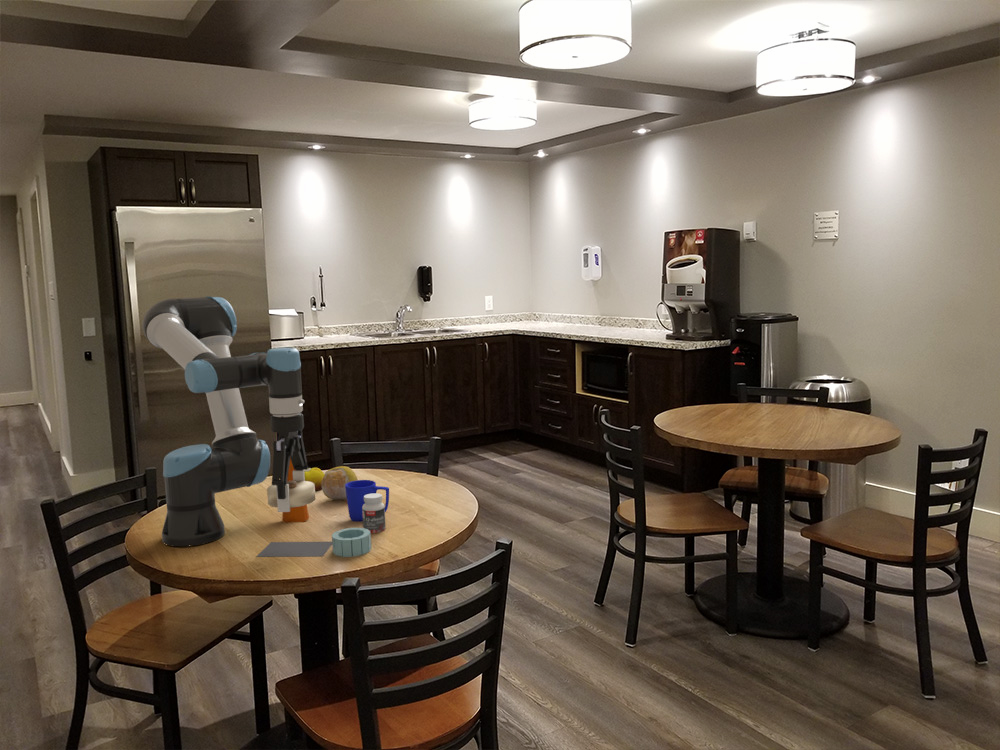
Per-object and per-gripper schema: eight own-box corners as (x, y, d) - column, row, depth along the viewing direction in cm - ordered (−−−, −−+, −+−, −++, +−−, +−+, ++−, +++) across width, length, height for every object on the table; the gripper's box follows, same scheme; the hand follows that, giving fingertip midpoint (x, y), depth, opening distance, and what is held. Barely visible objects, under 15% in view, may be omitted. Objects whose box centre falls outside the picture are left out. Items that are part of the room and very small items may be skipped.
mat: (256, 560, 184) (255, 556, 184) (271, 545, 194) (271, 542, 194) (322, 560, 183) (322, 556, 183) (334, 545, 193) (334, 541, 193)
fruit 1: (314, 480, 254) (316, 458, 252) (330, 495, 247) (333, 473, 245) (282, 487, 247) (284, 464, 244) (298, 502, 240) (301, 479, 237)
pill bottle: (366, 538, 198) (364, 500, 197) (361, 531, 203) (358, 494, 202) (388, 534, 200) (386, 496, 199) (382, 528, 205) (380, 491, 204)
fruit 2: (328, 495, 238) (326, 463, 237) (363, 495, 237) (361, 462, 236) (317, 505, 228) (315, 471, 227) (353, 505, 227) (351, 471, 225)
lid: (261, 507, 182) (259, 488, 182) (277, 494, 193) (276, 475, 192) (307, 507, 182) (306, 488, 181) (321, 493, 192) (320, 475, 192)
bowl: (329, 560, 183) (327, 540, 182) (339, 547, 192) (338, 527, 191) (366, 560, 182) (365, 539, 182) (374, 547, 191) (373, 527, 190)
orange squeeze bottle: (309, 511, 222) (302, 420, 219) (309, 522, 212) (302, 427, 208) (283, 513, 220) (276, 422, 217) (282, 525, 210) (275, 429, 207)
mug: (385, 525, 208) (383, 488, 206) (342, 523, 210) (340, 487, 209) (395, 515, 215) (393, 480, 214) (354, 514, 218) (352, 479, 217)
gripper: (285, 424, 172) (291, 519, 176) (317, 404, 196) (321, 489, 199) (252, 424, 173) (258, 519, 176) (287, 404, 196) (292, 489, 199)
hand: (292, 503), depth 187 cm, fingers closed on lid, 11 cm apart
